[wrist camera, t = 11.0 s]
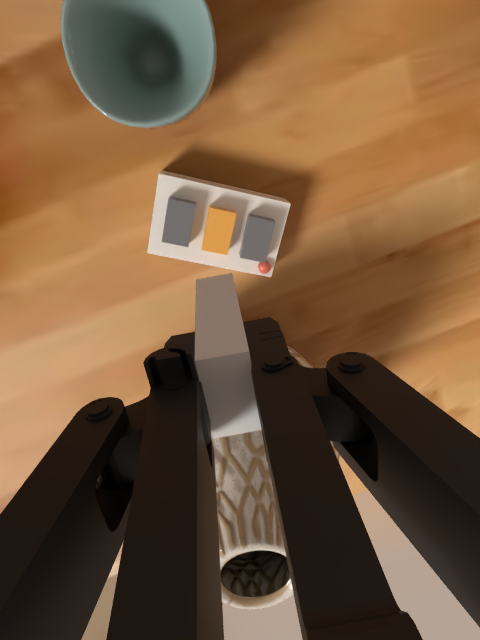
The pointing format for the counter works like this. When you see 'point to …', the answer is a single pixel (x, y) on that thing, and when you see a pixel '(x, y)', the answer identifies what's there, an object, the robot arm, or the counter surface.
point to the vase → (250, 522)
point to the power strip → (216, 224)
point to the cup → (141, 57)
